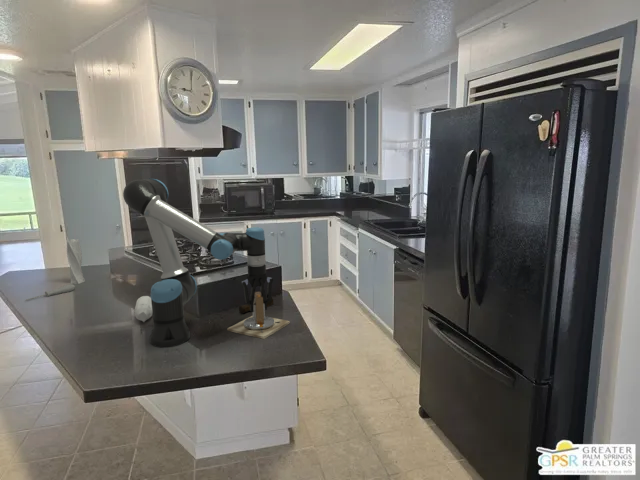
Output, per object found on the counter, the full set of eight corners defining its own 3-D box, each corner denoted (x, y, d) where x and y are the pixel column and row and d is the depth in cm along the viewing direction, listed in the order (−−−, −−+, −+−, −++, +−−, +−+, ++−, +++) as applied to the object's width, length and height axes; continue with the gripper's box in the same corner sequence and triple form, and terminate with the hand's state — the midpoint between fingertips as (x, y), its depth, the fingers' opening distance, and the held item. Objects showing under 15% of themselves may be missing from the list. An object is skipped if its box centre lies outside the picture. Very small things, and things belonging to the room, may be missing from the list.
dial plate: (227, 330, 180) (227, 328, 180) (255, 316, 197) (254, 313, 196) (264, 338, 171) (263, 336, 171) (289, 323, 188) (289, 320, 187)
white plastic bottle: (133, 326, 187) (131, 309, 185) (137, 312, 204) (135, 296, 203) (152, 324, 189) (151, 307, 188) (154, 310, 207) (153, 294, 205)
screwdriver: (24, 304, 225) (22, 296, 225) (73, 290, 245) (71, 283, 244) (27, 304, 222) (25, 296, 222) (77, 289, 242) (75, 282, 241)
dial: (242, 320, 188) (240, 291, 186) (271, 317, 192) (270, 288, 189) (245, 331, 176) (244, 300, 173) (277, 327, 179) (276, 296, 177)
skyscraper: (67, 284, 256) (61, 237, 251) (76, 280, 263) (70, 235, 258) (78, 284, 254) (73, 238, 249) (87, 281, 262) (82, 235, 257)
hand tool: (242, 315, 199) (242, 305, 199) (238, 312, 202) (238, 303, 202) (276, 306, 212) (276, 297, 211) (271, 304, 215) (271, 295, 214)
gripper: (239, 268, 172) (241, 323, 177) (278, 264, 179) (279, 317, 183) (235, 264, 179) (238, 318, 183) (272, 260, 186) (274, 312, 190)
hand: (258, 317), depth 183 cm, fingers closed on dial, 3 cm apart
